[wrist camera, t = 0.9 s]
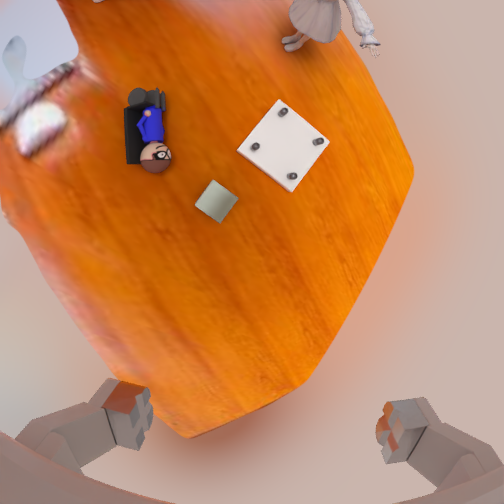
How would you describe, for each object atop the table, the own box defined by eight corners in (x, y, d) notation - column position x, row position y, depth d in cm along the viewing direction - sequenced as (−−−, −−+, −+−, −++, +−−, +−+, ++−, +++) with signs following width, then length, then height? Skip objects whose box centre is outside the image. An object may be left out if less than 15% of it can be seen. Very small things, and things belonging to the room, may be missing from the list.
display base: (236, 151, 50) (239, 148, 46) (276, 102, 49) (282, 95, 45) (288, 191, 53) (296, 192, 49) (325, 142, 52) (335, 140, 48)
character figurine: (169, 92, 46) (172, 172, 50) (129, 97, 45) (132, 176, 48) (167, 78, 39) (171, 170, 42) (122, 83, 37) (124, 175, 41)
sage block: (196, 201, 51) (194, 205, 42) (211, 180, 51) (213, 179, 41) (216, 216, 52) (219, 223, 43) (232, 195, 52) (238, 198, 42)
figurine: (253, 1, 43) (292, -99, 14) (291, -3, 44) (347, -92, 15) (296, 103, 50) (385, 39, 21) (335, 95, 50) (437, 41, 22)
